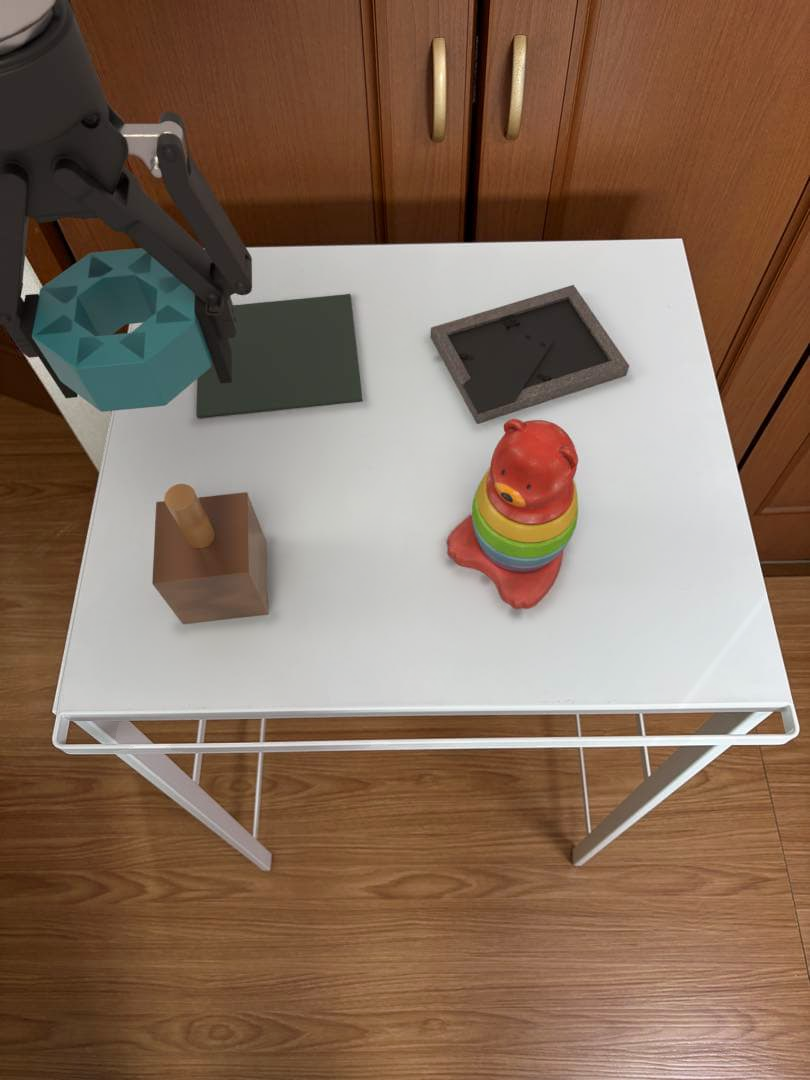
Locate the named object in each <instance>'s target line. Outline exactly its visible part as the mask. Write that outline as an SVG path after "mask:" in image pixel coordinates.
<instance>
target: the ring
mask: <svg viewBox="0 0 810 1080" xmlns="http://www.w3.org/2000/svg"><path fill="white" fill-rule="evenodd" d="M38 295H39V299H38V305H37V310H36V316H35V322H34V328H33V332H32V338H33V339H34V341H35V342H36V344H37V346H38V347H39V349H40V350H41V352H42V353H43V355H44V356H45V358H46V359H47V361H48V362H49V364H50V366H51V367H52V369H53V370H54V372H55V373H56V375H57V376H58V378H59V379H60V381H61V382H62V383H64V384H65V385H66V386H68V387H69V388H70V389H72V390H73V391H74V392H76V393H77V394H78V395H77V396H79V397H81V398H82V399H83V400H85V401H86V402H87V403H89V404H90V405H91V406H92V407H94V408H95V409H97V410H98V411H99V412H100V413H105V412H114V411H124V410H135V409H145V408H155V407H157V408H158V407H165V406H167V405H168V404H169V403H170V402H171V401H173V400H174V399H175V398H176V397H177V396H179V395H180V394H181V393H183V392H184V391H185V390H186V389H187V388H188V387H189V386H190V385H192V384H193V383H194V382H196V381H197V378H199V377H200V376H201V375H202V374H203V373H205V372H206V371H207V370H208V369H209V368H211V366H212V358H211V355H210V352H209V349H208V347H207V344H206V341H205V338H204V336H203V333H202V330H201V327H200V325H199V322H198V319H197V316H196V314H195V312H194V305H195V294H194V293H193V292H192V291H191V290H190V289H189V288H187V287H186V286H185V285H184V284H183V283H182V282H181V281H179V280H178V279H177V278H176V277H175V276H174V275H173V274H171V273H170V272H169V271H168V270H167V269H166V268H164V267H163V266H162V265H161V264H160V263H159V262H158V261H156V260H155V259H154V258H153V257H152V256H151V255H150V254H148V253H147V252H146V251H145V250H144V249H143V248H141V247H139V248H129V249H116V250H106V251H94V252H89V253H88V254H86V255H85V256H84V257H82V258H81V259H79V260H78V261H77V262H75V263H74V264H72V265H71V266H69V267H68V268H67V269H65V270H64V271H62V272H61V273H60V274H59V275H57V276H56V277H54V278H53V279H52V280H49V282H47V283H45V284H44V285H43V286H41V287H40V288H39V293H38ZM131 324H133V325H134V324H140V325H138V326H137V327H136V328H134V329H133V330H132V331H131V332H125V333H116V332H118V330H120V329H121V328H123V327H124V326H125V325H131Z"/></svg>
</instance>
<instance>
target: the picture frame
mask: <svg viewBox="0 0 810 1080" xmlns="http://www.w3.org/2000/svg"><path fill="white" fill-rule="evenodd" d="M430 339H431V341H432V342H433V345H434V346H435V348H436V350H437V352H438V354H439V356H440V358H441V360H442V361H443V363H444V366H445V367H446V369H447V370H448V372H449V374H450V376H451V378H452V380H453V382H454V384H455V385H456V387H457V390H458V391H459V393H460V395H461V397H462V399H463V401H464V402H465V404H466V406H467V408H468V410H469V412H470V414H471V415H472V417H473V419H474V421H475V424H476V425H479V424H481V423H485V422H488V421H490V420H494V419H497V418H500V417H503V416H506V415H509V414H512V413H515V412H519V411H522V410H524V409H528V408H531V407H534V406H536V405H541V404H543V403H546V402H549V401H552V400H555V399H559V398H561V397H565V396H567V395H570V394H574V393H576V392H580V391H582V390H583V391H584V390H586V389H590V388H593V387H596V386H598V385H602V384H605V383H608V382H611V381H614V380H616V379H621V378H623V377H626V376H627V374H628V371H629V369H630V365H629V363H628V361H627V360H626V359H625V357H624V356H623V354H622V353H621V352H620V349H619V348H618V347H617V345H616V344H615V343H614V342H613V339H612V338H611V336H610V335H609V334H608V333H607V331H606V329H605V328H604V327H603V325H602V324H601V322H600V321H599V320H598V318H597V317H596V315H595V314H594V312H593V311H592V309H591V308H590V306H589V305H588V303H587V302H586V301H585V299H584V298H583V296H582V295H581V293H580V292H579V290H578V289H577V288H576V286H575V284H572V285H568V286H565V287H562V288H558V289H555V290H551V291H548V292H545V293H542V294H538V295H535V296H531V297H527V298H525V299H522V300H518V301H514V302H511V303H508V304H504V305H501V306H498V307H495V308H491V309H488V310H484V311H482V312H478V313H475V314H472V315H469V316H465V317H462V318H458V319H455V320H451V321H448V322H444V323H442V324H437V325H435V326H432V327H430Z"/></svg>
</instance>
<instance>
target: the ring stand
mask: <svg viewBox="0 0 810 1080" xmlns="http://www.w3.org/2000/svg"><path fill="white" fill-rule="evenodd" d="M155 503H156V504H155V522H154V542H153V562H152V582H151V584H152V585H153V587H154V588H155V589H156V591H157V593H159V595H160V596H161V597H162V599H163V600H164V601H165V603H166V604H167V605H168V607H169V609H170V610H172V612H173V614H174V615H175V616H176V617H177V618H178V620H179V622H180V623H181V624H182V625H186V624H189V625H190V624H197V623H206V622H215V621H223V620H231V619H241V618H249V617H257V616H267V615H269V599H268V598H269V597H268V596H269V595H268V594H269V593H268V564H267V563H268V561H267V539H266V537H265V535H264V532H263V529H262V526H261V524H260V522H259V519H258V516H257V514H256V511H255V508H254V506H253V503H252V501H251V498H250V496H249V493H248V492H247V491H246V492H236V493H227V494H219V495H217V494H216V495H207V496H199V497H198V495H197V493H196V491H195V489H194V487H192V486H191V485H189V484H186V483H177V484H174V485H172V486H170V487H169V488H168V490H167V491H166V492H165V494H164V498H163V500H160V501H156V502H155Z"/></svg>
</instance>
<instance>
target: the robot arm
mask: <svg viewBox="0 0 810 1080" xmlns="http://www.w3.org/2000/svg"><path fill="white" fill-rule="evenodd" d="M72 7H73V6H72V5H71V3H70V1H69V0H0V325H1V326H3V327H4V329H5V330H6V331H7V333H8V334H9V336H10V337H11V339H12V340H13V341H14V343H15V344H16V346H17V347H18V349H19V350H20V352H21V353H22V354H23V355H25V356H26V357H27V358H29V359H30V358H39V360H40V361H41V363H42V365H43V366H44V367H45V369H46V371H47V372H48V374H49V375H50V377H51V378H52V380H53V381H54V383H55V384H56V386H57V387H58V389H59V390H60V392H61V394H62V395H63V396H64V399H74V398H78V396H79V395H78V394H77V393H76V392H74V391H73V390H72V389H70V388H69V387H68V386H66V385H65V384H64V383H62V382H61V381H60V379H59V378H58V376H57V375H56V373H55V372H54V370H53V369H52V367H51V366H50V364H49V362H48V361H47V359H46V358H45V356H44V355H43V353H42V352H41V350H40V349H39V347H38V346H37V344H36V342H35V341H34V339H33V338H32V332H33V328H34V322H35V316H36V310H37V305H38V299H39V293H31V294H25V295H24V299H23V298H22V293H23V287H24V282H23V281H24V271H25V262H26V251H27V242H28V241H27V240H28V229H29V219H30V218H31V219H34V220H35V221H36V223H37V224H42V223H53V222H55V221H58V220H61V219H64V218H69V219H70V218H71V219H80V220H87V219H89V220H90V219H97V218H98V219H100V221H102V222H103V223H104V224H105V225H107V226H108V228H110V229H111V230H112V231H113V232H116V233H118V234H121V233H124V234H125V235H126V236H128V237H129V238H130V239H131V240H132V241H133V242H135V243H136V245H138V246H139V248H143V249H144V250H145V251H146V252H147V253H148V254H150V255H151V256H152V257H153V258H154V259H155V260H156V261H158V262H159V263H160V264H161V265H162V266H163V267H164V268H166V269H167V270H168V271H169V272H170V273H171V274H173V275H174V276H175V277H176V278H177V279H178V280H179V281H181V282H182V283H183V284H184V285H185V286H186V287H187V288H189V289H190V290H191V291H192V292H193V293H194V294H195V305H194V312H195V314H196V316H197V319H198V322H199V325H200V327H201V330H202V333H203V336H204V338H205V341H206V344H207V347H208V349H209V352H210V355H211V358H212V362H213V364H214V367H215V370H216V373H217V375H218V378H219V381H220V383H230V382H232V351H231V348H230V345H229V342H228V339H227V338H235V335H236V313H235V310H234V307H233V305H234V304H233V303H234V302H233V300H232V297H231V296H232V295H235V294H236V295H238V296H247V295H249V294H250V293H251V292H252V291H253V259H252V255H251V253H250V252H249V250H248V248H247V247H246V246H245V243H244V242H243V240H242V239H241V237H240V235H239V234H238V232H237V230H236V229H235V227H234V225H233V224H232V222H231V220H230V219H229V217H228V215H227V213H226V212H225V210H224V209H223V207H222V205H221V204H220V202H219V200H218V198H217V197H216V195H215V194H214V192H213V190H212V188H211V187H210V185H209V184H208V182H207V180H206V178H205V177H204V175H203V173H202V172H201V170H200V169H199V167H198V166H197V163H196V161H194V158H193V157H192V155H191V152H190V145H189V141H188V137H187V131H186V126H185V122H184V120H183V118H182V117H181V116H180V115H179V114H178V113H176V112H174V111H164V112H163V113H162V114H160V116H159V118H158V123H126V121H124V119H123V118H122V116H120V115H119V113H117V112H116V111H115V110H114V108H113V107H111V105H110V104H109V101H108V100H107V97H106V96H105V93H104V90H103V87H102V84H101V81H100V79H99V75H98V73H97V71H96V68H95V65H94V63H93V60H92V57H91V55H90V53H89V49H88V47H87V44H86V42H85V41H86V40H85V39H84V36H83V33H82V31H81V28H80V26H79V22H78V21H77V20H78V19H77V18H76V15H75V12H74V10H73V8H72ZM130 155H131V156H136V157H137V158H139V159H140V160H142V162H143V163H144V164H145V166H146V168H147V169H148V170H149V171H150V173H151V174H150V175H152V177H154V178H157V179H160V178H162V182H163V185H164V186H165V189H166V191H167V193H168V195H169V197H170V199H171V200H172V202H173V203H174V205H175V206H176V209H178V211H179V213H180V214H181V215H182V217H183V219H184V220H185V222H186V223H187V225H188V226H189V227H190V229H191V230H192V232H193V234H194V235H195V237H196V238H197V240H198V241H199V242H198V241H196V239H195V238H193V236H192V235H190V234H189V233H188V232H187V231H186V230H185V229H184V228H183V227H182V226H181V225H180V224H179V223H178V222H177V221H176V220H174V219H173V218H172V217H171V216H170V215H169V213H167V212H166V211H165V210H164V209H163V208H162V207H161V206H160V205H159V204H158V203H157V202H156V201H154V200H153V199H152V198H151V197H150V196H149V195H148V194H147V193H146V192H145V191H144V190H143V188H142V185H141V182H140V181H139V179H138V178H137V177H136V176H135V174H133V172H131V171H130V170H129V169H128V168H127V167H126V166H125V165H126V163H127V160H128V158H129V156H130Z"/></svg>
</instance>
